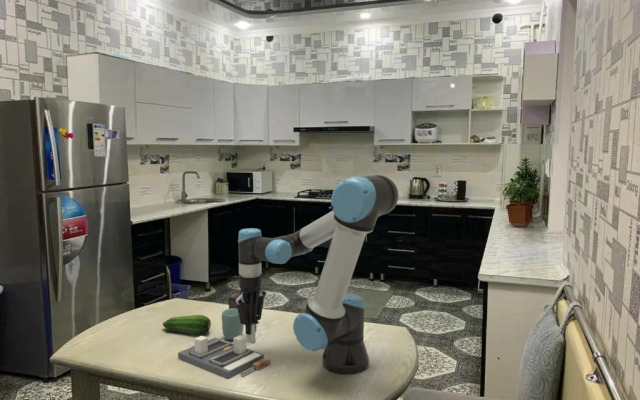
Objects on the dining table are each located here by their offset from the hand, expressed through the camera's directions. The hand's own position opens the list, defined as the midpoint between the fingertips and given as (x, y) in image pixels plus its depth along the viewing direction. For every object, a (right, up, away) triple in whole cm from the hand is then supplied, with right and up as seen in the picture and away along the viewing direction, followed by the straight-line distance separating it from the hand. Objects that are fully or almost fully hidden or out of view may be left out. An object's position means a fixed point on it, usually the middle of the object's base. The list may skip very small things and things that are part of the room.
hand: (251, 342), depth 165 cm
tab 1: (-16, -2, -5) cm, 17 cm away
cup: (-9, -3, +14) cm, 16 cm away
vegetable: (-28, -2, +20) cm, 34 cm away
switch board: (-9, -4, -4) cm, 11 cm away
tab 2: (-3, -2, -4) cm, 6 cm away
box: (-11, 0, +42) cm, 43 cm away
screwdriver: (+3, -6, -12) cm, 13 cm away
